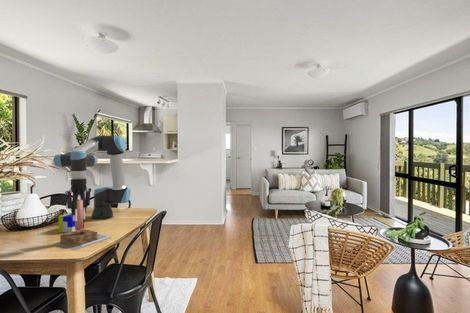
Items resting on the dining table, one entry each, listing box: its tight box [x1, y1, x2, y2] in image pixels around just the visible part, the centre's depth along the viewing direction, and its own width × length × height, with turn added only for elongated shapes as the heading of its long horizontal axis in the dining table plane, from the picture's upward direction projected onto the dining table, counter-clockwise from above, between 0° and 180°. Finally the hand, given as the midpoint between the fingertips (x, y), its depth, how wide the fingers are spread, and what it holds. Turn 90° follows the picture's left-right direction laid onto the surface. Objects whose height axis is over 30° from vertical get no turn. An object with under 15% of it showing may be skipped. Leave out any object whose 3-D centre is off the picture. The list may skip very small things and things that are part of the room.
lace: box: [81, 236, 110, 246], centre depth 142 cm, size 16×1×1 cm, turn 153°
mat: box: [53, 233, 113, 251], centre depth 144 cm, size 22×20×1 cm
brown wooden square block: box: [59, 228, 98, 247], centre depth 142 cm, size 13×13×4 cm
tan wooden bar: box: [75, 199, 84, 231], centre depth 142 cm, size 4×4×16 cm
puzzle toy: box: [58, 212, 85, 233], centre depth 166 cm, size 10×10×10 cm
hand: (79, 219), depth 142 cm, fingers closed on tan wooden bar, 4 cm apart
